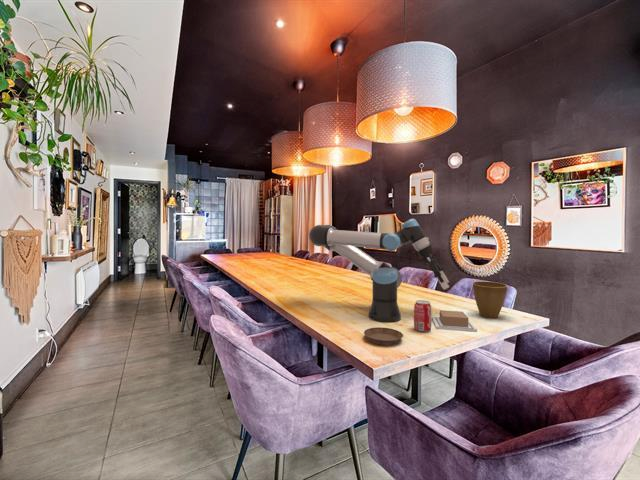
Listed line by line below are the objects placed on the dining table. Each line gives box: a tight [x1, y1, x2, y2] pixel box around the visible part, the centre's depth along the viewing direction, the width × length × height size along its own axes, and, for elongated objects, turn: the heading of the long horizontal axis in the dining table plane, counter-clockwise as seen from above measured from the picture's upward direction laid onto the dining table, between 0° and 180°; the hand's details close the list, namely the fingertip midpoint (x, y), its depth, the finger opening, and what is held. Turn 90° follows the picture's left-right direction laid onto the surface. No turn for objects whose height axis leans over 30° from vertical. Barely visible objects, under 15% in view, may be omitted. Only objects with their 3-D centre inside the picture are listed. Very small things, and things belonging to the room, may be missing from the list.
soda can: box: [413, 299, 433, 333], centre depth 125 cm, size 7×7×12 cm
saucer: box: [363, 327, 404, 346], centre depth 114 cm, size 15×15×3 cm
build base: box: [432, 309, 478, 333], centre depth 132 cm, size 16×14×5 cm
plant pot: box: [472, 280, 508, 319], centre depth 145 cm, size 15×15×16 cm
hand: (446, 285), depth 144 cm, fingers open, 13 cm apart
